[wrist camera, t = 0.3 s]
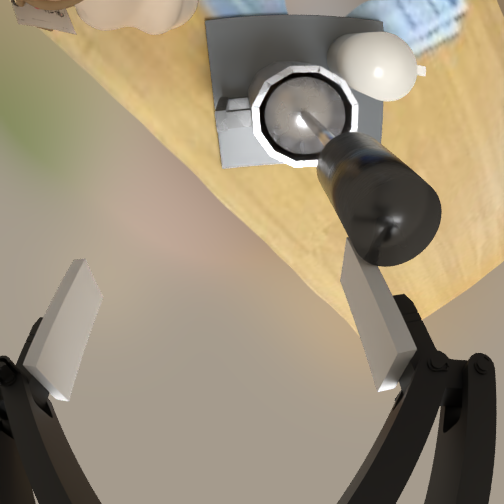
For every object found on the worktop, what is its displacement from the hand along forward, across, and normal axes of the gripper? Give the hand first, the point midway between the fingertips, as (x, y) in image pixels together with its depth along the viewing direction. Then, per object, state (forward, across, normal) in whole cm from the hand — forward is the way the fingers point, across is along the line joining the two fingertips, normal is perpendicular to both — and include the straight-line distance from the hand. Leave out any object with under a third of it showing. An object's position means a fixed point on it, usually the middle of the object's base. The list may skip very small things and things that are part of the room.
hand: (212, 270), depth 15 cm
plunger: (+17, +8, +3) cm, 19 cm away
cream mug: (+28, +18, +8) cm, 34 cm away
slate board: (+29, +10, +4) cm, 31 cm away
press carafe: (+28, +6, +3) cm, 29 cm away
